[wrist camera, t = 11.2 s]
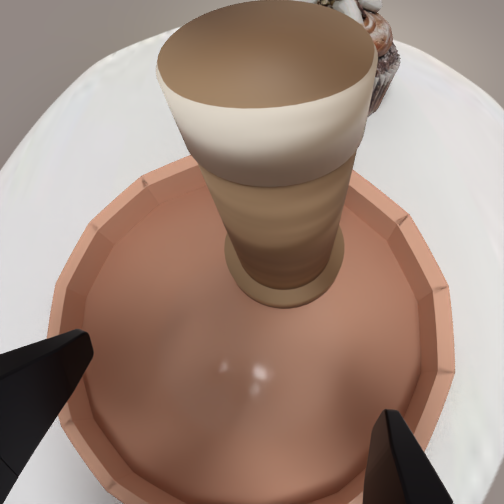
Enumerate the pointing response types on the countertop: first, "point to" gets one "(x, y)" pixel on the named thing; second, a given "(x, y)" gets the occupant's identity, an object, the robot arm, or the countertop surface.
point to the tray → (245, 352)
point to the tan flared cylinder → (274, 134)
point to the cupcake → (365, 13)
